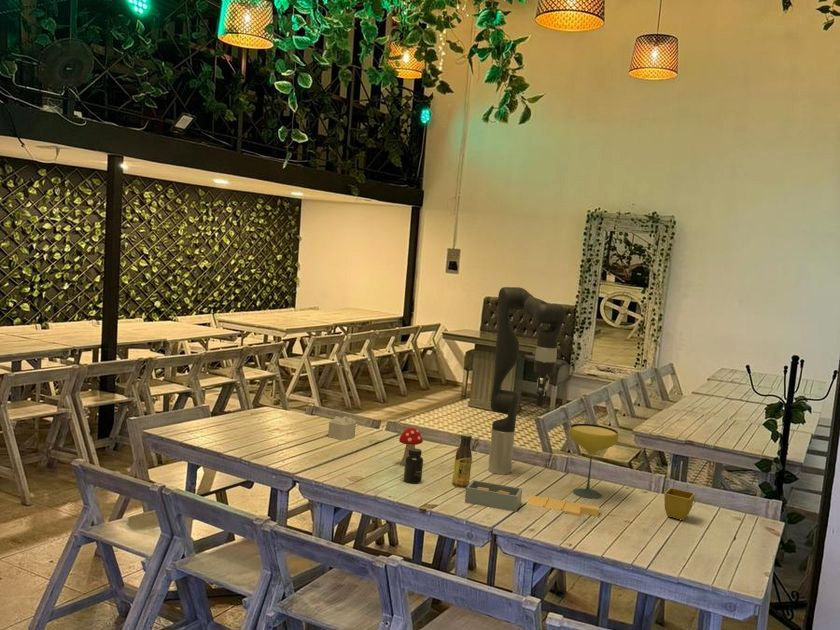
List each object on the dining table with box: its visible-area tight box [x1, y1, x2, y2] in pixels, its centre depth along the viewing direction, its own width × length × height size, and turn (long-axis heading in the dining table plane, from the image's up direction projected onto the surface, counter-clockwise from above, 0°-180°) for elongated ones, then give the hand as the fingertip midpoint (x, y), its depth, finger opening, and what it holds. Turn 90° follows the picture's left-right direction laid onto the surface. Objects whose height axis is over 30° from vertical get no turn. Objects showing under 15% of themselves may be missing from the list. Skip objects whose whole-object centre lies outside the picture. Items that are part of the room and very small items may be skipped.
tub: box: [464, 479, 523, 513], centre depth 255 cm, size 10×18×6 cm, turn 73°
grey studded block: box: [327, 415, 357, 441], centre depth 331 cm, size 10×13×9 cm
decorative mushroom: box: [398, 427, 424, 466], centre depth 295 cm, size 10×9×15 cm
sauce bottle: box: [452, 433, 473, 489], centre depth 271 cm, size 6×6×20 cm
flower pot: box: [663, 487, 696, 521], centre depth 258 cm, size 9×9×9 cm
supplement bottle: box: [403, 447, 424, 484], centre depth 274 cm, size 7×7×12 cm
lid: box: [525, 494, 600, 517], centre depth 258 cm, size 11×25×2 cm, turn 72°
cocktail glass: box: [568, 423, 619, 499], centre depth 276 cm, size 18×18×25 cm
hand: (541, 403), depth 262 cm, fingers open, 8 cm apart
